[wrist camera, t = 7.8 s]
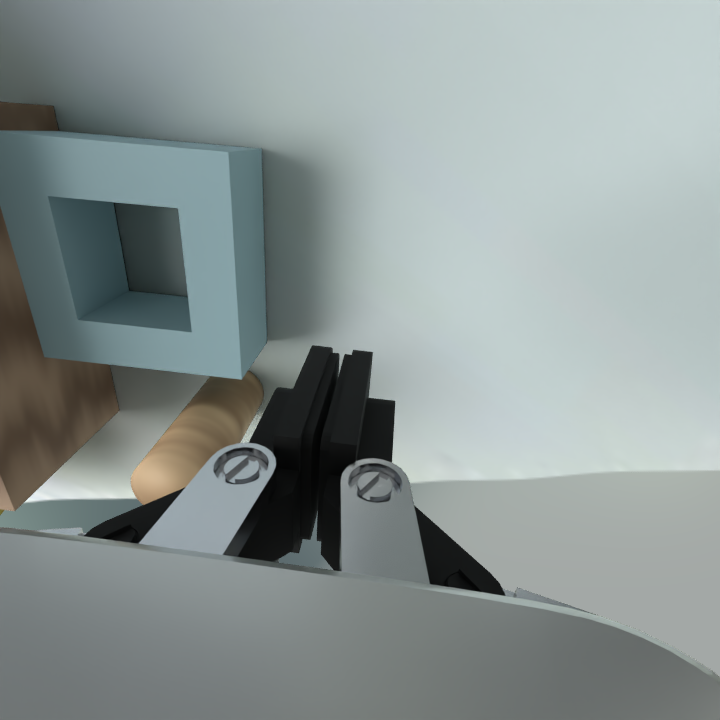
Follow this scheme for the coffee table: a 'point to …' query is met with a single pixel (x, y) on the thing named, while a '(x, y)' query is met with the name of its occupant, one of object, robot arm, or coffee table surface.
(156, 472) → the dowel
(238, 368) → the socket block
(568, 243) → the coffee table surface
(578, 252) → the coffee table surface
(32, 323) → the wall
